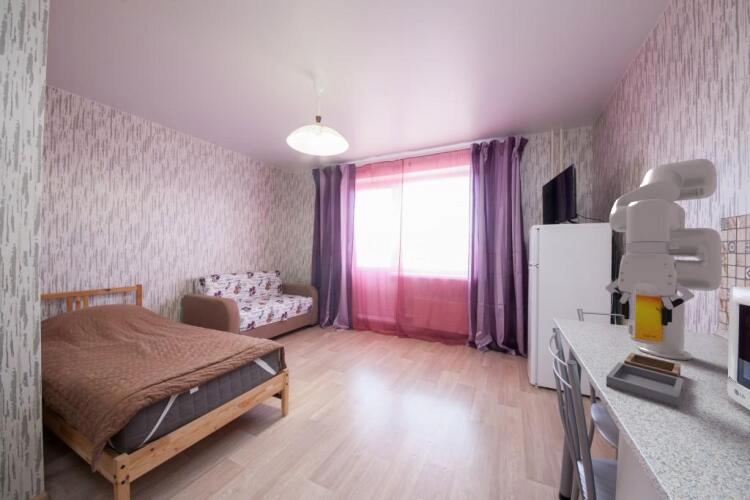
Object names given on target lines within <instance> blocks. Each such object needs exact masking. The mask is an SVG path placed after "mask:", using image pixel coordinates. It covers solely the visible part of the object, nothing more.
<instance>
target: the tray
mask: <svg viewBox="0 0 750 500" xmlns="http://www.w3.org/2000/svg"><path fill="white" fill-rule="evenodd" d="M605 378H606V381H605V382H606V383H605V384H606V387H608V388H612V389H615V390H618V391H621V392H624V393H626V394H629V395H633V396H636V397H639V398H642V399H645V400H649V401H652V402H655V403H659V404H662V405H665V406H667V407H671V408H674V409H678V410H680V409H679V408H680V405H681V400H682V395H683V390H684V378H681V377H680V378H678V377H674V376H670V375H666V374H662V373H659V372H655V371H651V370H647V369H643V368H639V367H635V366H631V365H627V364H624V362H620V361H619V362H617V364H615V366H614V367H613V368H612V369H611V370H610V372H609V373H608V374H607V375H606V377H605Z"/></svg>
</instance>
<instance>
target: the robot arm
mask: <svg viewBox="0 0 750 500" xmlns="http://www.w3.org/2000/svg"><path fill="white" fill-rule="evenodd" d="M717 183H718V177H717V168H716V166H715V164H714V163H713V162H712V160H710V159H708V158H707V159H706V158H694V159H688V160H682V161H676V162H671V163H669V162H668V163H663V164H661V165H657V166H654V167H652V168H651V169H649V170H648V171H646V173H645V175H644V177H643V180H642V183H641V184H640V185H639V186H638V187H637V188H635V189H633V190H631V191H628V192H627V193H625V194H623V195H621V196H619V197H618V198H617V199H616V200H615V202H614V203H613V205H612V207H611V210H610V213H609V218H608V219H609V220H608V221H609V225H610V229H612V230H613V231H615V232H617V233H626V236H625V237H626V241H625V243H626V244H625V245H626V251H625V253H626V254H623V255H622V256H621V260H620V264H619V272H618V278H617V279H616V280H614V281H611V283H609V284H608V285H606V286H605V290H607V291H608V292H609V293H610V294H611V295H612V296H613V297H614V298H615V299H616V300H618V301H619V302H620V303H621V307H620V308H621V311H620V312H621V316H624V318H623V319H624V320H629V296H630V294H631V293H632V291H633V286H634V285H635V284H637V283H639V281H641V282H650V283H651V284H653V285H654V286H655V287H656V288H657V292H658V295H659V296H660V297H661V299H662V301H663V303H664V309H663V319H662V325H663V342H661V343H660V344H659V345H652V344H645V343H640V342H638V343H636V346H635V347H636V349H638V350H639V351H641V352H644V353H646V354H649V355H651V356H652V355H653V356H656V357H662V358H666V359H672V360H678V361H681V360H682V361H687V360H689V361H690V360H691V359H692V354H691V353H689V352H688V351H686V350H685V325H686V324H685V323H686V321H685V319H686V318H685V317H686V316H685V313H686V311H685V310H686V305H685V302H688V301H689V300H692V299H693V298H694V297H695V294H694V293H693V292H691V291H701V292H704V291H705V292H712V291H717V290H718V289H719V288H720V287H721V285H722V275H723V272H722V267H723V266H722V265H723V264H722V262H723V261H722V259H723V258H722V249H723V247H722V239H721V235H720V232H718V231H717V230H715V229H714V228H710V227H692V228H691V227H689V228H687V227H686V210H685V209H684V207H682V206H681V205H680V204H679V203H677V202H679V201H690V200H692V201H694V200H700V199H707V198H709V197H711V196H713V195H714V194H715V192H716V190H717V186H718V185H717ZM675 257H676V258H696V259H698V260H694V259H693V260H691V259H675ZM616 288H618V290H619V291H620V292H622V293H623V294H622V293H620V292H619V291H618V290H617V289H616ZM678 292H679V293H680V294H682V295H681V296H680V295H679V294H678Z"/></svg>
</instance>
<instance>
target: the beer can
mask: <svg viewBox="0 0 750 500" xmlns="http://www.w3.org/2000/svg"><path fill="white" fill-rule="evenodd" d="M628 301H629V319H628V327H627V329H628V332H627V334H628V336H629V338H630V339H631V340H632V341H634V342H638V343H645V344H652V345H659V344H660V343H661V342H663V325H662V319H663V309H664V303H663V301H662V299H661V297H660V296H659V295H658V292H657V288H656V287H655V286H654V285H653V284H651V283H650V282H641V281H639V283H637V284H635V285H634V286H633V291H632V293H631V294H630V296H629V300H628Z"/></svg>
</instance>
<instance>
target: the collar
mask: <svg viewBox="0 0 750 500" xmlns="http://www.w3.org/2000/svg"><path fill="white" fill-rule="evenodd" d="M623 361H624V362H623V363H624V364H627V365H631V366H635V367H639V368H643V369H647V370H651V371H655V372H659V373H662V374H666V375H670V376H674V377H678V378H681V367H682V366H681V363H677V362H672V361H668V360H665V359H659V358H655V357H651V356H648V355H647V356H646V355H642V354H638V353H634V352H630V353H629V355H627V356H626V358H625V359H624V360H623Z"/></svg>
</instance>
